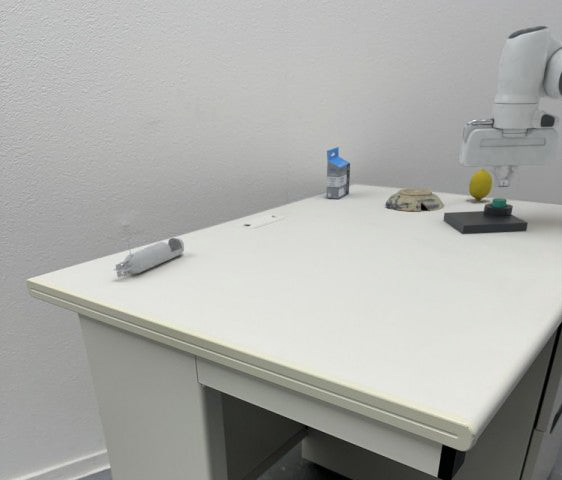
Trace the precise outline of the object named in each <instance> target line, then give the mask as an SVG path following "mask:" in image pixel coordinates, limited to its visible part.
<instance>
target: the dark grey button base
mask: <svg viewBox="0 0 562 480" xmlns="http://www.w3.org/2000/svg"><path fill="white" fill-rule="evenodd" d="M513 209H514V206H513V205H512V204H509V203H506V207H505V208H497V207H492V202H490V203H485V205H484V207H483V210H478V211H475V210H474V211H455V212H452V211H451V212H444V213H443V222H445V223H446V224H447V225H449V226H450V227H452V228H453V229H454V230H456V231H458V232H459V233H460V234H462V235H473V234H475V235H476V234H496V233H517V232H526V231H527V229H528V225H529V224H528V222H527V221H525V220H524V219H522V218H519V217H517V216H516V215H513Z"/></svg>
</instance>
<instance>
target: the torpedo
mask: <svg viewBox="0 0 562 480" xmlns="http://www.w3.org/2000/svg"><path fill="white" fill-rule="evenodd" d="M126 239H127V244H128V250H129V254H128V255H127V256H125V258H124V260H123V261H120V262H119V263H117V264H115V268H114V269H113V271H116V276H117V278H121V277H123V276H126V275H128V274H130V275H137V274H140V273H143V272H145V271H148V270H149V269H152V268H154V267H156V266H158V265H161V264H163V263H165V262H167V261H170V260H172V259H174V258H177V257H178V256H181V255H182V254H183V253H184V252H185V244H184V243H185V242H184V241H183V240H182V239H181V238H179V237H171V238H169V239H168V242H164V241H161V242H158V243H155V244H152V245H150V246H147V247H145V248H143V249H139V250H137V251H135V252H131V246H130V238H129V237H127V238H126Z"/></svg>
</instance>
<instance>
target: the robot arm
mask: <svg viewBox="0 0 562 480" xmlns="http://www.w3.org/2000/svg"><path fill="white" fill-rule="evenodd" d="M499 61H500V62H499V66H498V72H497V79H496V80H497V92H496V95H495V96H494V99H493V104H492V110H491V115H490V118H484V119H478V118H477V119H471V121H469V122H468V123H466V124H465V126H464V127H463V132H462V143H461V146H460V150H459V155H458V156H459V157H458V163H460V165H461V166H463V167H465V168H477V167H491V168H490V169H491V173H492V176H493V178H494V181H493V187H494V188H510V187H511V181H512V179H513V178H514V177H515V175H516V174H517V172H518V171H519V166H538V165H539V166H541V165H551V164H552V163H553V161H555V158H556V154H557V150H558V142H559V132H558V130H557V129H556V128H557V127H558V126H559V125H560V117H559V116H557V115H555V114H552V113H549V112H546V111H544V110H541V109H539V106H540V100H541V98H543V99H546V100H554V101H562V41H561V40H560V39H558V38H557V37H555V35H554V34H553V33H552V32H551V30H550V28H549V27H548V26H545V25H540V26H539V25H538V26H533V27H526V28H523V29H519V30H516V31H514V32H512V33H511V34H509V36H508V37H507V38H506V40H505V43H504V45H503V49H502V53H501V56H500V60H499ZM503 167H507V170H508V171H507V173H506V175H505V176H504V177H501V174H500V172H502V170H503Z"/></svg>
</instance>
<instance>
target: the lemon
mask: <svg viewBox="0 0 562 480" xmlns="http://www.w3.org/2000/svg"><path fill="white" fill-rule="evenodd" d="M492 187H493V178H492V176H491V174H490V172H488V171H486V170H485V169H484V168H481V169H480V170H478V171H476V172H475V173H473V175H472V176H471V178H470V180H469V184H468V191H469V194H470V196H471V197H472V198H473V199H475V201H477V202H480V201H481V200H482V199H485V198H486V197H487V196H488V195H489V194H490V192H491V191H492Z"/></svg>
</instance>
